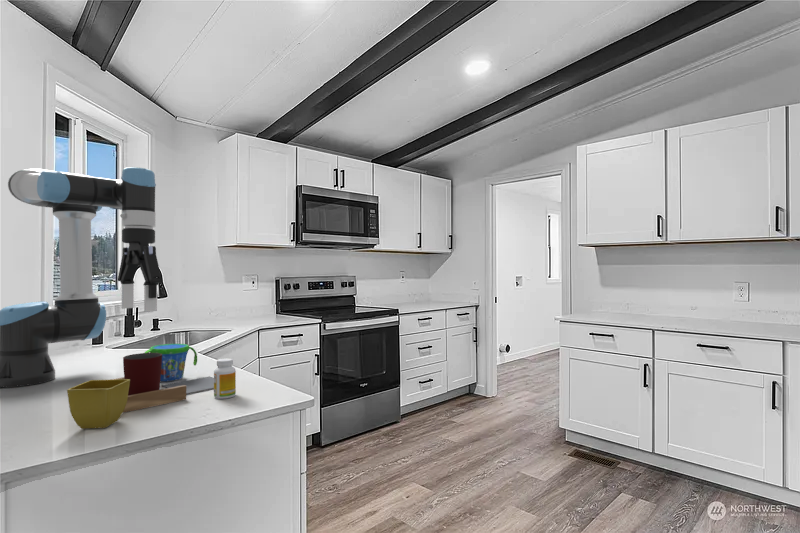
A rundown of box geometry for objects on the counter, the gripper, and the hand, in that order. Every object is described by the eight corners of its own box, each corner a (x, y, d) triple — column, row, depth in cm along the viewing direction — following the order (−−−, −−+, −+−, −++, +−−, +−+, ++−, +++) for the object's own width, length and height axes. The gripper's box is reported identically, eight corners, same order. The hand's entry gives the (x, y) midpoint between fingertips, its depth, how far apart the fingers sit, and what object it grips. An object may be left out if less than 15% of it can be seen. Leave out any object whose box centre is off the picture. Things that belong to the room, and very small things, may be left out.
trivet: (161, 386, 132) (161, 385, 132) (209, 377, 143) (209, 376, 143) (183, 395, 123) (183, 394, 123) (232, 385, 133) (232, 384, 133)
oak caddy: (80, 397, 121) (80, 384, 121) (152, 384, 134) (152, 372, 134) (108, 415, 106) (108, 400, 106) (186, 399, 119) (186, 385, 119)
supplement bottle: (239, 394, 124) (239, 358, 124) (226, 400, 119) (226, 362, 119) (223, 392, 126) (223, 357, 126) (209, 398, 121) (209, 360, 121)
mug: (114, 396, 122) (114, 354, 122) (150, 389, 129) (150, 350, 129) (130, 405, 114) (130, 360, 114) (167, 397, 121) (167, 355, 121)
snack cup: (194, 372, 149) (194, 341, 149) (200, 379, 141) (200, 346, 141) (138, 379, 141) (138, 346, 141) (141, 386, 132) (141, 351, 132)
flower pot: (90, 419, 104) (90, 379, 104) (131, 418, 105) (131, 378, 105) (65, 433, 95) (65, 389, 95) (110, 431, 96) (110, 388, 96)
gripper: (103, 229, 125) (103, 307, 125) (145, 224, 110) (145, 313, 110) (133, 231, 131) (133, 306, 131) (176, 226, 116) (176, 311, 116)
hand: (138, 309), depth 120 cm, fingers open, 13 cm apart
